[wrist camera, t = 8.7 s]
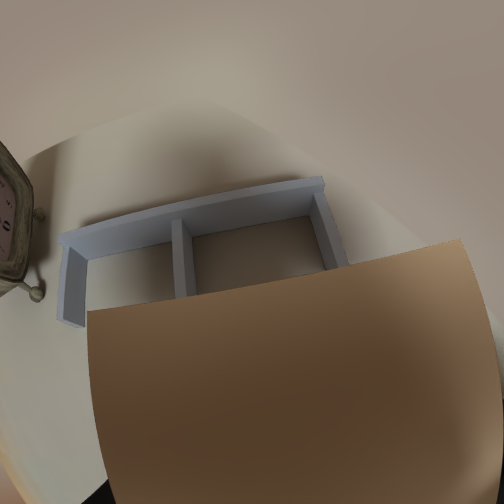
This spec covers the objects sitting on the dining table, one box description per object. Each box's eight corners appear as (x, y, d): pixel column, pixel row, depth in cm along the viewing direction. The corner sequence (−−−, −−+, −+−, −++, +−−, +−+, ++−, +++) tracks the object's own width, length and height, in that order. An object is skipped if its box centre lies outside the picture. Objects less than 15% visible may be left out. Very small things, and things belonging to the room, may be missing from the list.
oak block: (348, 437, 12) (491, 524, 1) (242, 458, 12) (169, 604, 1) (329, 340, 14) (459, 238, 3) (224, 361, 14) (87, 310, 3)
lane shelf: (341, 285, 20) (355, 265, 16) (77, 327, 20) (48, 316, 16) (315, 206, 23) (321, 175, 19) (82, 254, 23) (58, 234, 19)
